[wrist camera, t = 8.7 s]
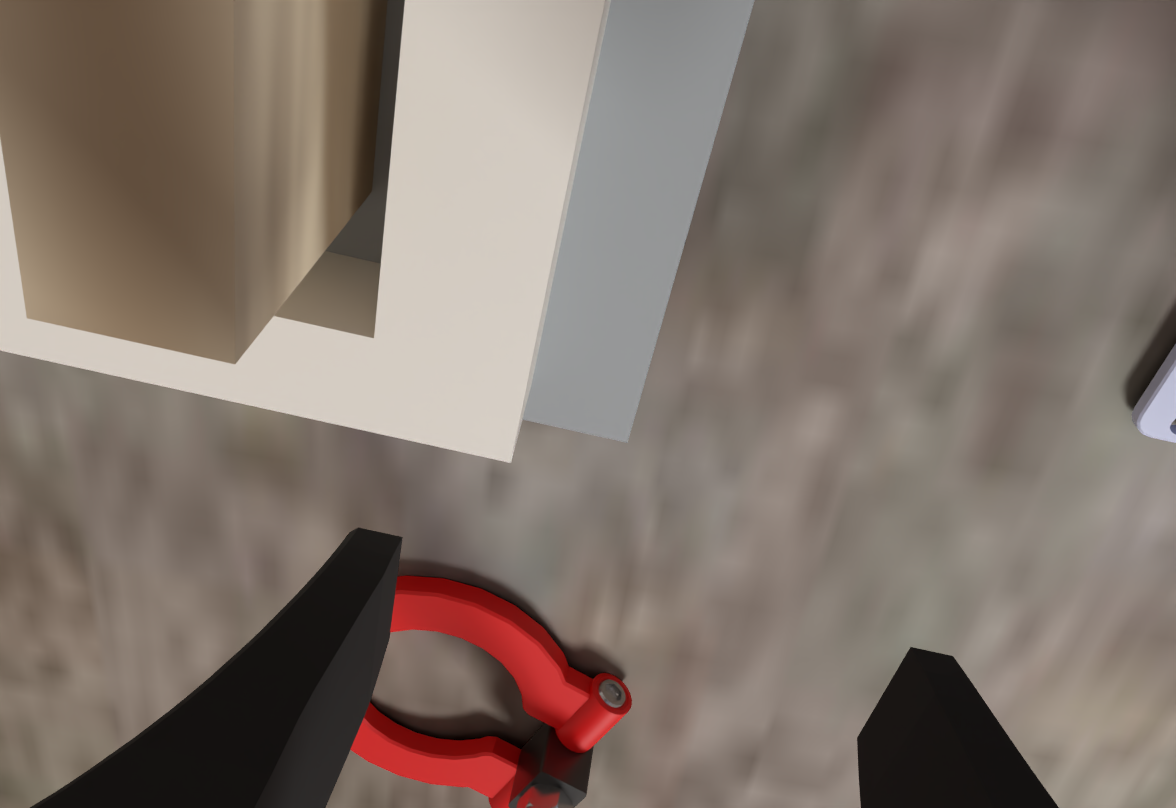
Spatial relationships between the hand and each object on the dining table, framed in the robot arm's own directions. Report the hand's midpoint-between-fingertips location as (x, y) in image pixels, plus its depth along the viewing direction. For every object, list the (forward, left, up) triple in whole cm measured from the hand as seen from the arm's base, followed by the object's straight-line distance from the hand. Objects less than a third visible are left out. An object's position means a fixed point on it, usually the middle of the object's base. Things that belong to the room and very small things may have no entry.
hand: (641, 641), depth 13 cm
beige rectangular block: (+8, -4, -9) cm, 13 cm away
